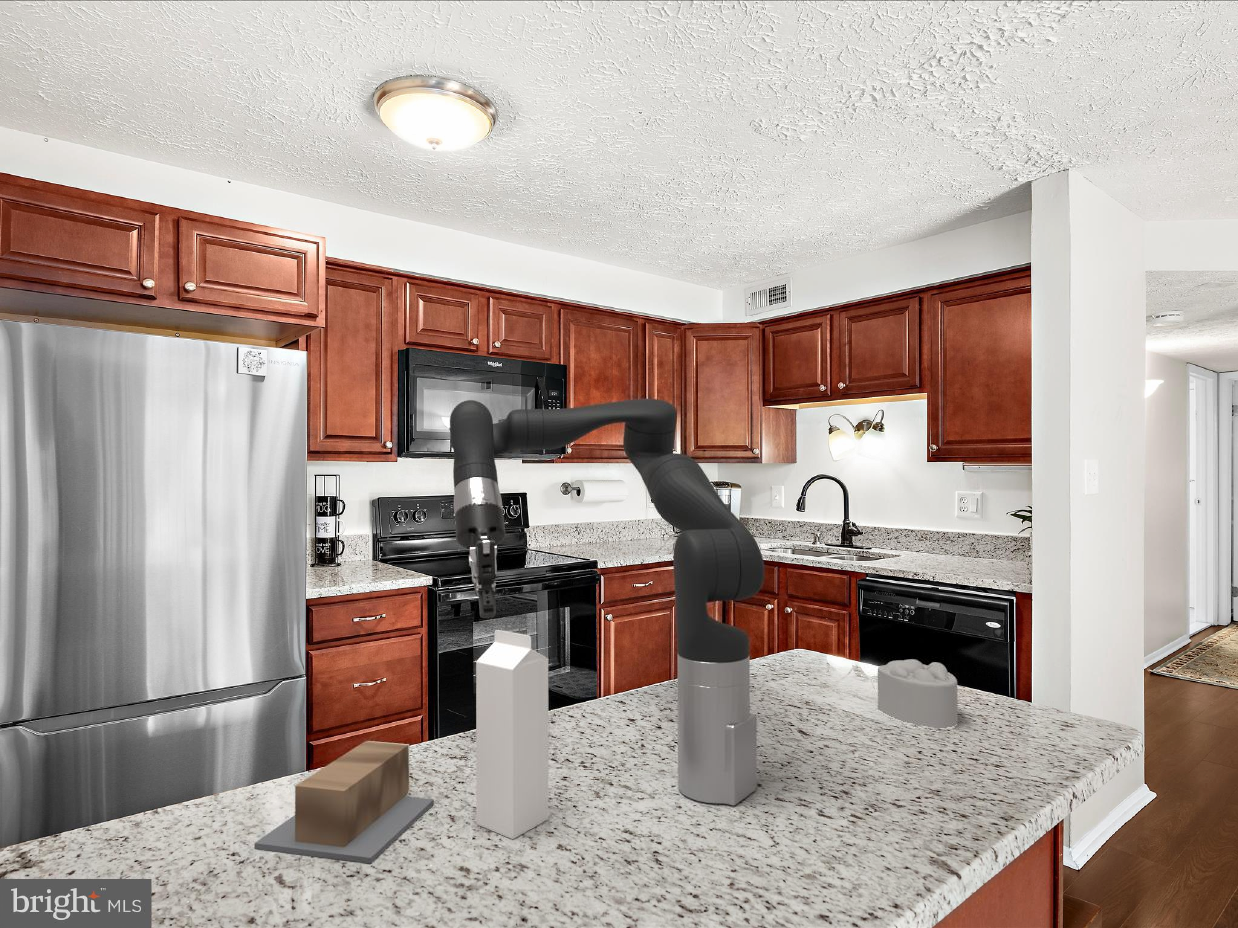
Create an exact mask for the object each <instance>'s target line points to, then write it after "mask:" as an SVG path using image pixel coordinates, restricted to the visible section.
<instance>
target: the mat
mask: <svg viewBox="0 0 1238 928" xmlns="http://www.w3.org/2000/svg"><path fill="white" fill-rule="evenodd" d="M434 804H435V799H434V798H427V797H426V798H424V797H415V796H407V795H406V796H404V797H403V798H402V799H401V800H400V801H398V802H397V803H396V804H395V805H394V806H393V807H391V808H390V809H389V810H388V811H387V812H385V813H384V814H383V815H382V816H381V817H380V818H378V819H377V820H376V821H375V822H374V823H372V824H371V825H370V826H369V827H368V828H367V829H365V830H364V831H363V832H362V833H361V834H359V835H358V836H357V837H356V838H355V839H354V840H352V841H351V842H350V843H349V844H348V845H347V846H345V847H337V846H329V845H321V844H312V843H304V842H296V841H295V814H294V815H293V816H291V817H290V818H289V819H287V820H286V821H284V822H283V823H281V824H280V825H279V826H276V828H274V829H273V830H271V831H270V832H268V833H267V834H266V835H264V836H263V837H261V838H260V839H258V840H257V841H255V842H254V845H253V846H254V849H255V850H262V851H263V850H264V851H270V852H277V853H278V852H279V853H284V854H285V853H286V854H294V855H300V856H309V857H317V858H323V859H324V858H325V859H331V860H338V861H339V860H340V861H347V862H356V863H361V864H362V863H363V864H372V863H373V862H374V861H375V860H376V859H378V857H379V856H380V855H382V854H383V852H385V851H386V850H387V849H388V848H389V847H390V846H391V845H392V844H393V843H394V842H395V841H396V840H398V838H400V837H401V836H402V835H403V834H404V833H405V832H406V831H407V830H408V829H409V828H410V827H411V826H412V825H413V824H415V823H416V822H417V821H418V820H419V819H420V818H421V817H423V815H424V814H425V813H427V811H428V810H429V809H430V808H432V807H433V806H434Z"/></svg>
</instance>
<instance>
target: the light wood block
mask: <svg viewBox="0 0 1238 928" xmlns="http://www.w3.org/2000/svg"><path fill="white" fill-rule="evenodd" d="M294 786H295V787H294V793H295V795H294V803H295V804H294V807H295V808H294V810H295V811H294V813H295V814H294V815H295V841H296V842H304V843H312V844H321V845H329V846H337V847H345V846H347V845H348V844H349V843H350V842H351V841H352V840H354V839H355V838H356V837H357V836H358V835H359V834H361V833H362V832H363V831H364V830H365V829H367V828H368V827H369V826H370V825H371V824H372V823H374V822H375V821H376V820H377V819H378V818H380V817H381V816H382V815H383V814H384V813H385V812H387V811H388V810H389V809H390V808H391V807H393V806H394V805H395V804H396V803H397V802H398V801H400V800H401V799H402V798H403V797H404V796H407V795H408V794H409V792H410V744H409V743H407V744H405V743H395V742H386V741H385V742H382V741H373V740H372V741H371V740H367V741H366V740H365V741H363V742H362V743H360V744H359V745H357V746H356V747H354V748H353V749H351V750H349V751H348V752H346V753H345V754H343V755H342V756H339V757H338V758H337V759H335V760H332V762H330V763H329V764H327V765H326V766H324V767H323V768H321V769H319V770H318V771H316V772H314V774H312V775H310V776H308V777H307V778H305V779H304V780H302V781H300V782H299V783H297V784H296V785H294Z"/></svg>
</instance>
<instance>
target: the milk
mask: <svg viewBox="0 0 1238 928" xmlns="http://www.w3.org/2000/svg"><path fill="white" fill-rule="evenodd" d="M493 636H494V637H493V639H494V642H493V643H492V644H491V645H490V646H489V648H487V649H486V650H485V651H484V653H483V654H481V656H480V657H478V659H477V660H476V661H475V663H476V665H475V671H476V672H475V675H476V677H475V679H476V681H475V682H476V685H475V687H476V690H475V691H476V693H475V694H476V695H475V697H476V698H475V699H476V702H475V703H476V705H475V707H476V711H475V713H476V714H475V715H476V717H475V718H476V719H475V720H476V724H475V725H476V726H475V727H476V731H475V733H476V735H475V736H476V737H475V738H476V739H475V741H476V744H475V746H476V747H475V749H476V750H475V751H476V754H475V755H476V757H475V758H476V759H475V761H476V762H475V763H476V766H475V767H476V768H475V769H476V772H475V773H476V775H475V777H476V778H475V780H476V783H475V784H476V786H475V787H476V788H475V789H476V791H475V795H476V797H475V798H476V800H475V801H476V803H475V804H476V805H475V806H476V807H475V808H476V810H475V811H476V813H475V815H476V817H475V818H476V819H475V820H476V821H475V822H476V825H477V826H480V827H482V828H483V829H487V830H489V831H492V832H494V833H497V834H498V835H502V836H504V837H506V838H508V839H511V840H514V839H516V838H518V837H519V836H521V835H523V834H525V833H527V832H529V831H531V829H533V828H535V827H538V826H539V825H541V824H542V823H545V822H546V821H548V820H549V658H548V657H546V656H545V655H543V654H541V653H539V652H538V651H536V650H534V649H532V637H531V636H530V635H528V634H523V633H518V632H512V631H507V630H500V629H495V630H494V635H493Z"/></svg>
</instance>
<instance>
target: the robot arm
mask: <svg viewBox="0 0 1238 928" xmlns="http://www.w3.org/2000/svg"><path fill="white" fill-rule="evenodd" d="M493 421H494V420H493V416H492V414H491V411H490V409H489V408H488V407H487V406H486V405H484V404H483V403H482V402H480V401H478V400H473V399H468V400H464V401H461V402H459V403H458V404H457V405H456V406H455V407H453V409H452V411H451V414H450V417H449V434H450V435H449V437H450V438H449V439H450V441H449V442H450V446H451V448H452V450H453V471H452V473H453V475H452V477H453V487H454V489H453V491H454V495H453V496H454V497H453V511H454V526H455V539H456V542H457V543H458V544H459V546H461V547H463V548H465V549H469V554H468V562H469V564H468V566H469V567H470V568H471V581H472V583H473V587H474V594H475V596H476V597H478V606H479V616H480V618H482V619H490V618H494V617H496V613H497V607H496V595H495V588H496V582H495V581H496V578H497V570H498V569H497V567H498V565H497V554H498V549H497V545H499V544H501V543H502V542H503V541H504V539H505V538H506V529H505V528H506V527H505V518H504V509H503V501H502V495H501V491H500V487H499V480H498V478H499V477H498V470H497V466H496V460H495V456H499V455H504V454H507V453H511V452H514V451H515V452H516V451H518V450H521V451H529V450H530V451H532V450H533V451H538V450H542V451H544V450H555V449H560V448H563V447H566V446H568V445H570V444H572V443H574V442H576V441H577V440H580V439H581V438H582V437H585V436H586V435H588V434H590V433H592V432H593V431H596V430H597V429H600V428H602V427H605V426H608V425H613V424H618V423H619V424H621V423H624V427H623V428H624V431H623V438H622V440H623V441H622V443H623V444H622V445H623V450H624V453H625V456H626V457H627V458H628V461H629V462H630V463H631V464H632V465H633V467H634V468H635V469H636V470H637V471H638V474H639V475H640V477H641V479H642V482H643V483H644V485H645V487H646V490H647V492H648V495H649V497H650V500H651V501H652V504H653V505H654V508H655V509H656V510H655V511H656V512H657V513H658V514H659V516H660V517H661V518H662V519H663V520H664V521H665V522H667V524H669V525H671V526H672V527H673V528H675V529H677V530H679V531H681V532H680V533H679V534H678V536H677V537H676V539H675V542H674V548H673V560H672V561H673V562H672V564H673V579H674V595H675V596H674V597H675V600H674V602H675V629H676V638H677V639H676V641H677V650H676V652H677V657H676V658H677V661H676V662H677V679H676V680H677V789H678V791H679V792H680V793H681V794H682V795H683V796H686V798H689V799H691V800H695V801H697V802H703V803H708V804H725V805H730V806H736V805H737V804H738V803H740V802H741V801H743V800H744V799H745V798H747V797H748V796H749V795H751V794H752V793H753V792H755V791H756V790H757V789H758V781H757V780H758V779H757V778H758V777H757V775H758V774H757V771H758V769H757V768H758V767H757V765H758V762H757V759H758V758H757V757H758V756H757V755H758V754H757V753H758V751H757V715H756V714H755V713H751V707H750V706H751V703H750V702H751V696H750V695H751V693H750V692H751V691H750V689H751V688H750V687H751V686H750V685H751V684H750V681H751V680H750V677H751V676H750V675H751V673H750V672H751V671H750V668H751V666H750V665H751V664H750V654H751V651H750V648H751V647H750V637H749V635H748V633H747V632H746V631H744V630H743V629H742V628H739V627H736V626H733V625H731V624H728V623H723V622H721V621H718V620H717V619H715V618H713V617H712V616H711V615H710V614H709V611H708V606H707V605H708V604H707V602H708V603H709V602H729V601H731V602H732V601H741V600H746V599H749V598H753V596H755V595H757V594H758V593H759V592H760V590H761V589H762V587H763V585H764V582H765V563H764V559H763V555H762V551H761V549H760V547H759V544H758V543H757V541H756V539H755V537H754V536H753V534H752V533H751V531H750V530H749V529H748V528H747V527H746V526H745V524H744V523H742V521H740V519H739V518H738V517H737V516H736V515H735V514H734V513H733V512H732V511H731V510H730V508H729V507H728V506H727V505H726V503H725V502H724V501H723V500H722V498H721V496H719V494H718V492H717V491H716V490H715V488H714V486H713V485H712V483H711V481H710V479H709V478H708V476H707V474H706V473H705V471H704V469H702V467H701V466H700V464H699V463H698V462H697V461H696V460H695V459H694V458H693V457H691V456H688V455H687V454H683V453H677V452H676V453H675V452H674V445H675V440H676V439H675V438H676V432H677V431H676V430H677V422H678V410H677V408H676V407H675V405H674V404H672V403H671V402H668V401H665V400H663V399H658V398H637V399H636V398H635V399H627V400H626V399H625V400H619V401H610V402H604V403H598V404H597V403H596V404H590V405H585V406H578V407H577V406H576V407H570V408H569V407H568V408H551V409H549V408H544V409H543V408H533V409H532V408H525V409H524V408H523V409H521V408H518V409H513V410H510V412H508V414H507V416H506V418H505V419H504V420H502V421H500V422H495V423H494V422H493Z"/></svg>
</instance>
